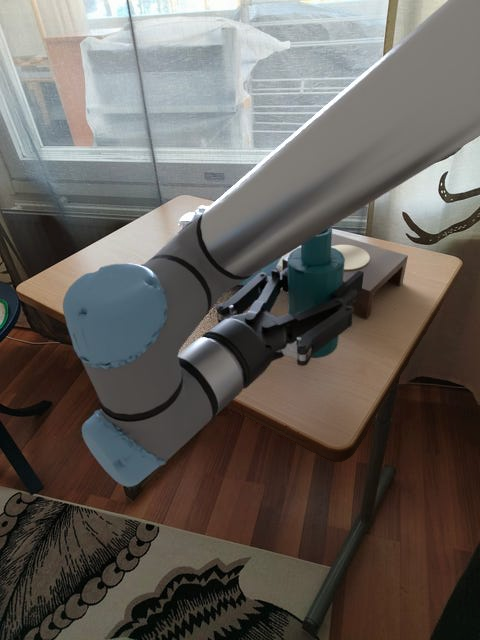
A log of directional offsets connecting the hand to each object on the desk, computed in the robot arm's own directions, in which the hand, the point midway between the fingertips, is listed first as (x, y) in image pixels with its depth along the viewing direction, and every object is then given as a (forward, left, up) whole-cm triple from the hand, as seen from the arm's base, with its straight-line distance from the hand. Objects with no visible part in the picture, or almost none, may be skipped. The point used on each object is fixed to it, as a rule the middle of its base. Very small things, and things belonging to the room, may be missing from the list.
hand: (335, 271), depth 59 cm
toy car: (+47, -18, -15) cm, 52 cm away
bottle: (0, +5, -10) cm, 11 cm away
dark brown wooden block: (+8, -17, -15) cm, 24 cm away
